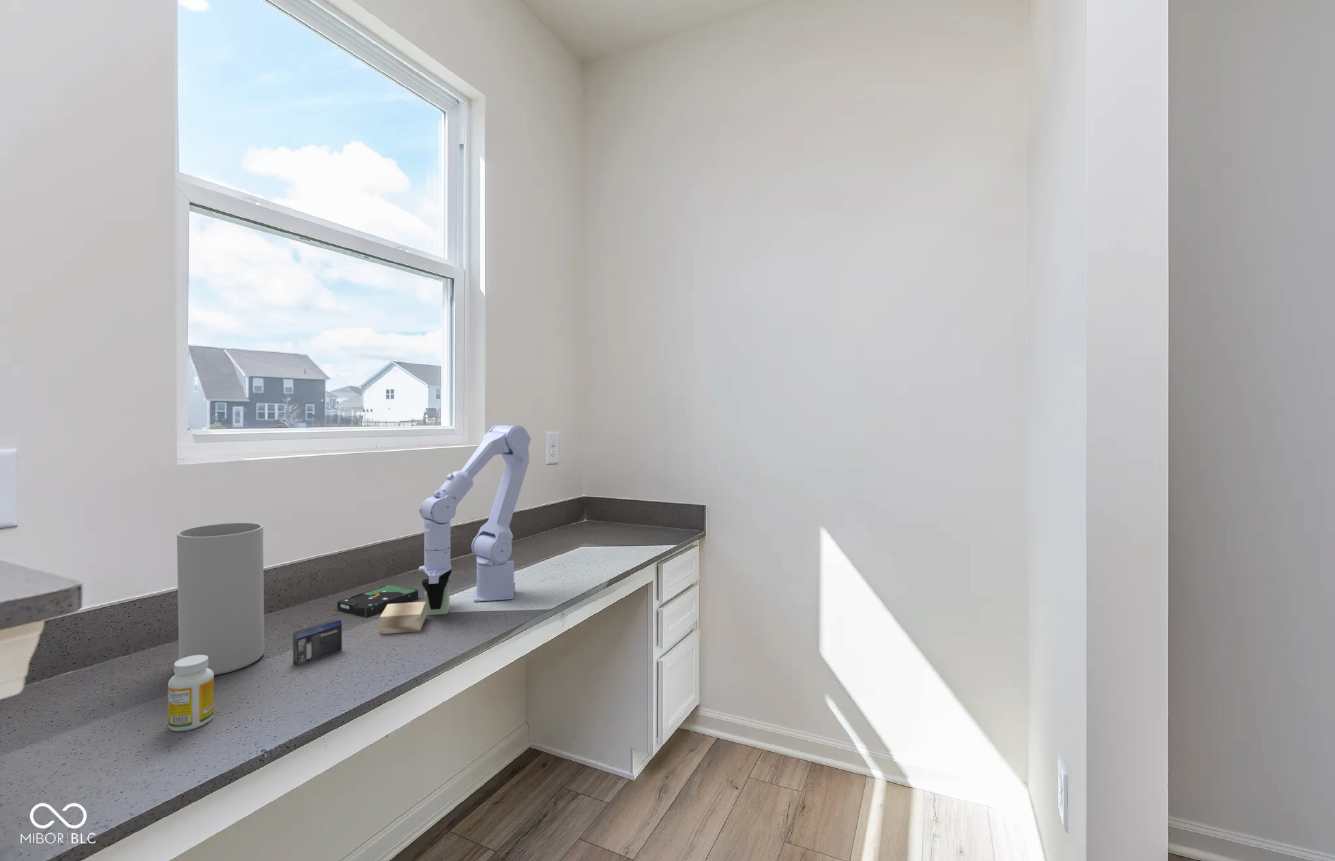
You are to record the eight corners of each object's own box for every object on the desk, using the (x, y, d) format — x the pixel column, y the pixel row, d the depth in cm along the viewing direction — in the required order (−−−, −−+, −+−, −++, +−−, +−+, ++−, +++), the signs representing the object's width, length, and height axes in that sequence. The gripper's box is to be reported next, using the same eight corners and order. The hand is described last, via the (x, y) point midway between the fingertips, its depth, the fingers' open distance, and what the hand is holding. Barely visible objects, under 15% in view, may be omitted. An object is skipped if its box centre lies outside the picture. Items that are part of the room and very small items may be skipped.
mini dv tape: (297, 665, 106) (297, 633, 106) (293, 663, 107) (292, 632, 106) (341, 650, 113) (341, 620, 113) (337, 648, 114) (337, 618, 113)
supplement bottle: (172, 736, 83) (171, 671, 82) (164, 723, 86) (163, 660, 86) (218, 721, 87) (217, 659, 87) (209, 709, 90) (208, 649, 90)
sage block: (449, 606, 138) (449, 585, 138) (447, 613, 133) (447, 592, 133) (427, 607, 137) (427, 587, 137) (424, 615, 132) (424, 593, 132)
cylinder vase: (162, 680, 99) (159, 538, 98) (205, 650, 111) (203, 523, 110) (243, 675, 102) (241, 536, 101) (276, 646, 114) (275, 522, 113)
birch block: (425, 618, 131) (425, 601, 130) (420, 632, 123) (420, 614, 123) (387, 621, 129) (387, 603, 128) (379, 635, 121) (379, 616, 121)
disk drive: (366, 620, 130) (419, 599, 143) (366, 608, 130) (419, 588, 143) (336, 612, 134) (390, 593, 148) (336, 601, 134) (390, 582, 148)
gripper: (423, 541, 140) (423, 595, 141) (414, 556, 126) (414, 617, 127) (454, 540, 142) (453, 593, 143) (448, 555, 128) (447, 614, 129)
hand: (437, 604), depth 135 cm, fingers closed on sage block, 5 cm apart
